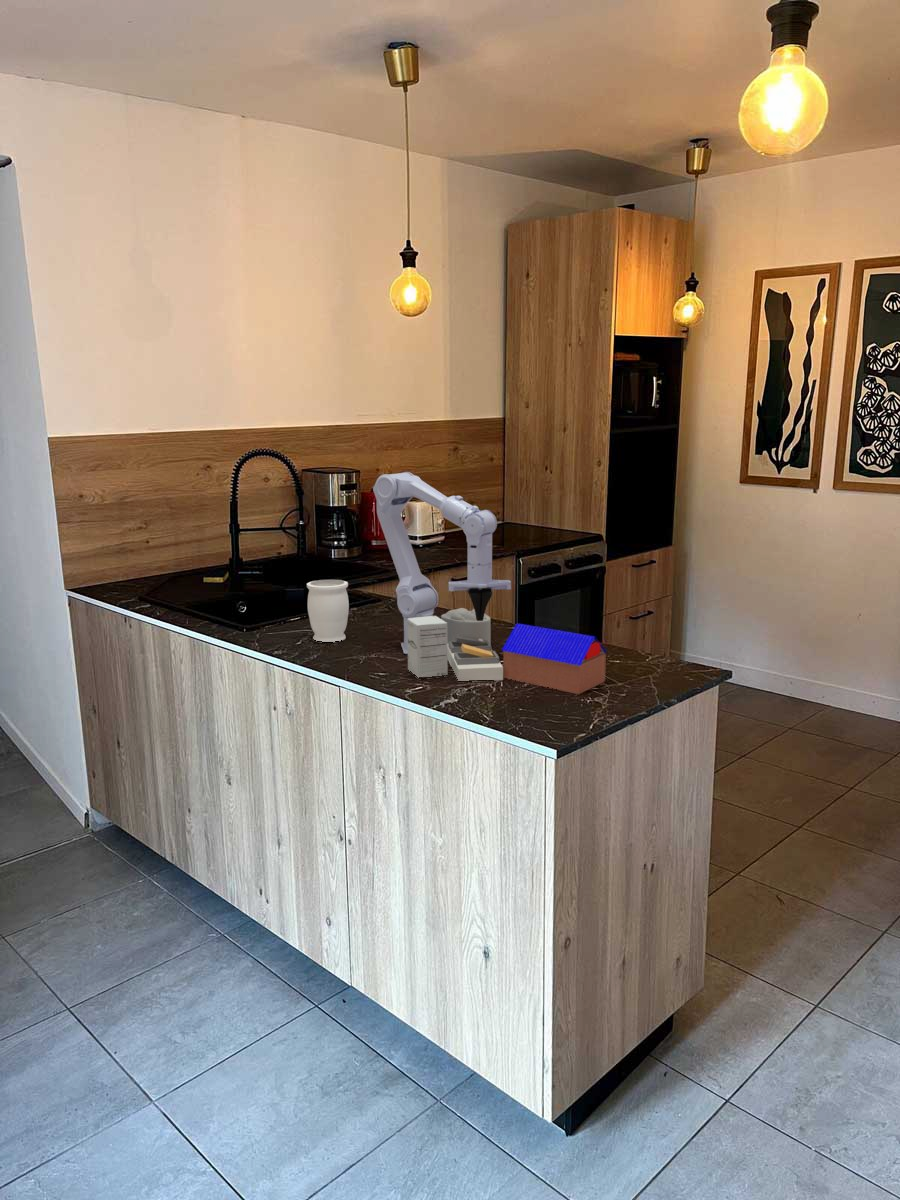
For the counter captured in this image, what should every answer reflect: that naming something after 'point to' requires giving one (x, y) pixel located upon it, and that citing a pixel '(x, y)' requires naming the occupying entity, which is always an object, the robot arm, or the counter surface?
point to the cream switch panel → (473, 663)
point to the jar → (328, 609)
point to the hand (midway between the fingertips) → (479, 619)
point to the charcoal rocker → (470, 640)
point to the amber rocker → (476, 651)
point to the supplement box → (427, 646)
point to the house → (554, 659)
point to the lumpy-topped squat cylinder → (466, 624)
